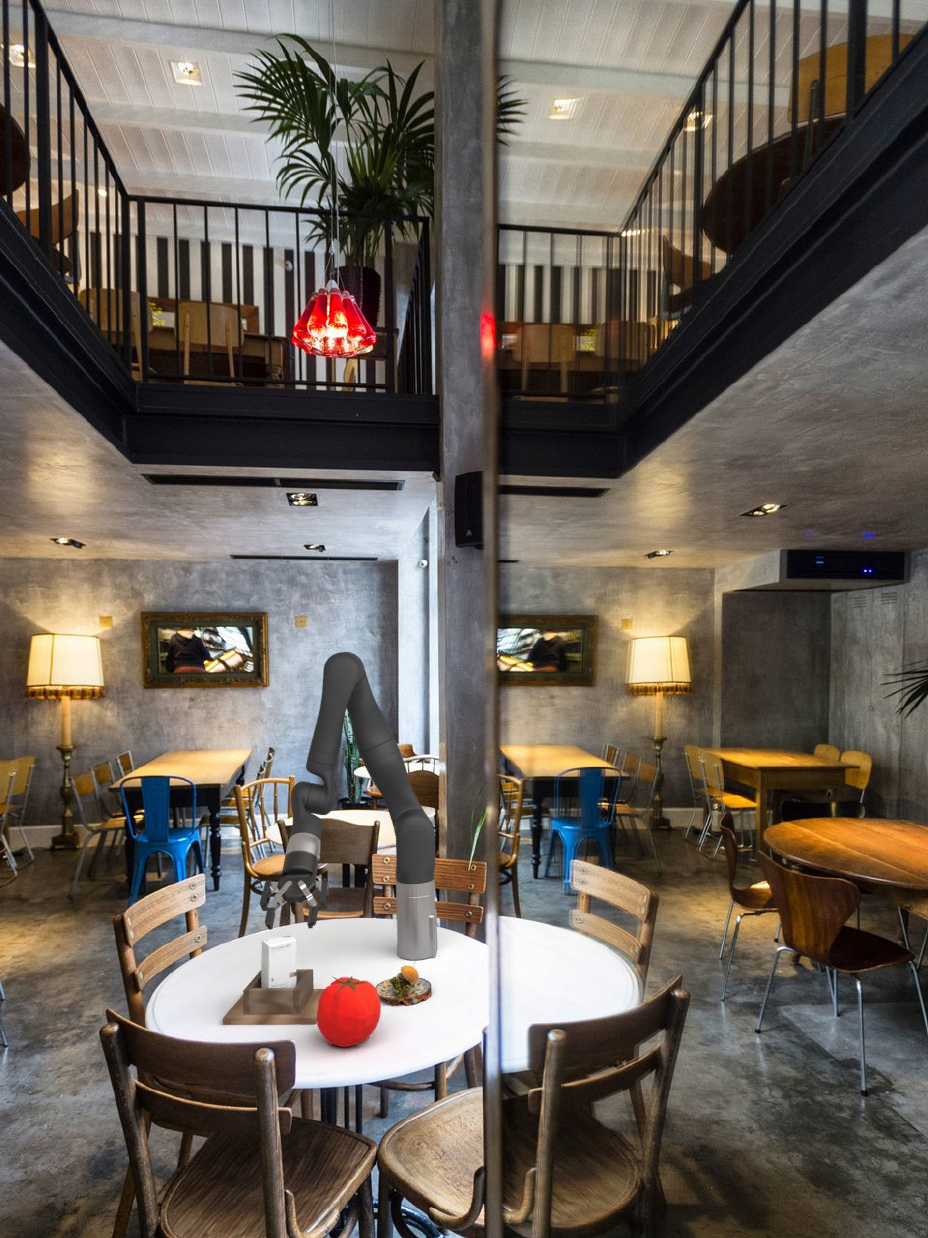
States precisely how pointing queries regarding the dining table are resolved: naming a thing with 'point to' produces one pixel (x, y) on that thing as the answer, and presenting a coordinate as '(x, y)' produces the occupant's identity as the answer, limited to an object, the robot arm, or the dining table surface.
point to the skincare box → (278, 963)
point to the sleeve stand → (276, 1003)
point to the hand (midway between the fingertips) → (289, 927)
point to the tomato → (348, 1011)
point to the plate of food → (405, 988)
